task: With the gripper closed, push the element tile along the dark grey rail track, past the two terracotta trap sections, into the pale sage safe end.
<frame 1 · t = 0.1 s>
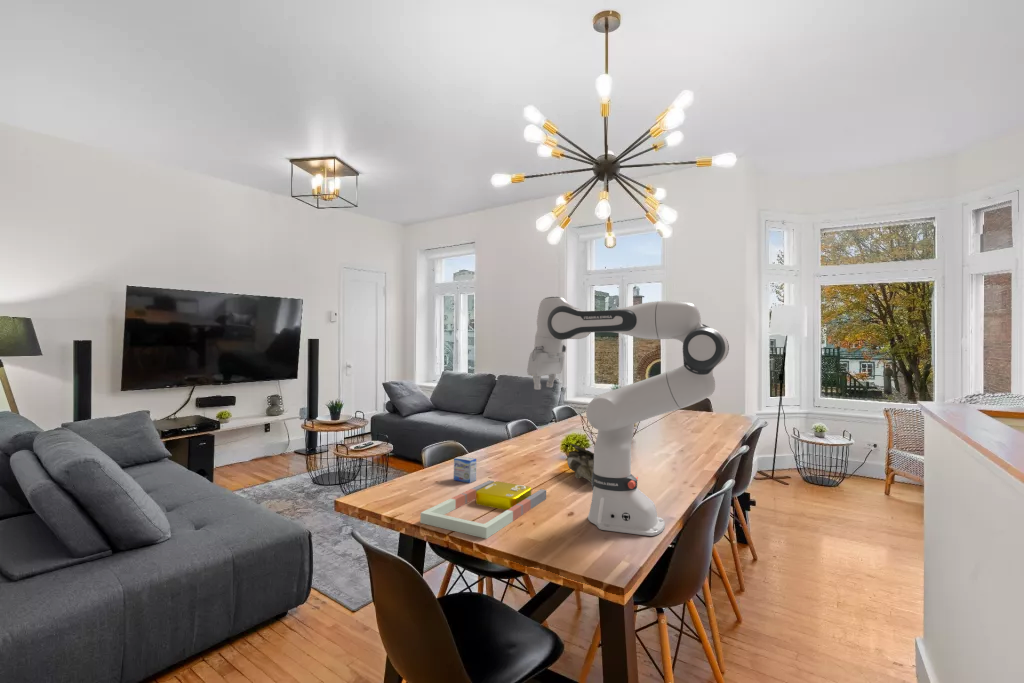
hand: (543, 388, 158), 39 cm above the table, tool pointing down, fingers open, 8 cm apart
element tile: (503, 502, 164), on the table
trap track: (488, 509, 154), on the table
medicine box: (464, 481, 187), on the table
hollow geode rock: (590, 478, 192), on the table
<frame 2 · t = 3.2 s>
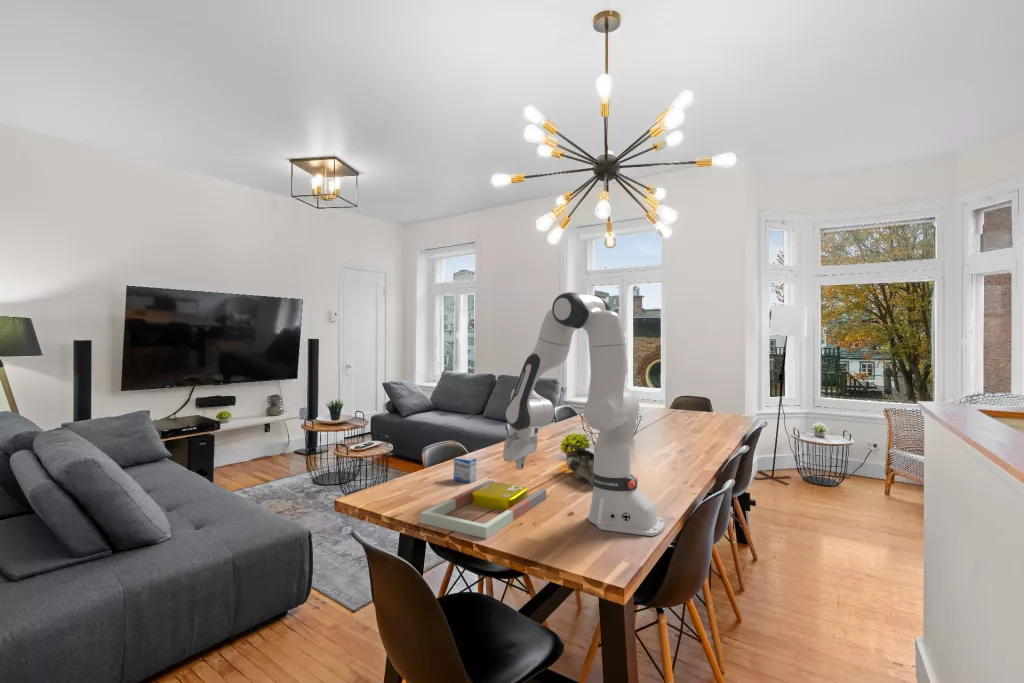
hand: (519, 468, 175), 8 cm above the table, tool pointing down, fingers closed
element tile: (500, 503, 163), on the table
everything else where it was.
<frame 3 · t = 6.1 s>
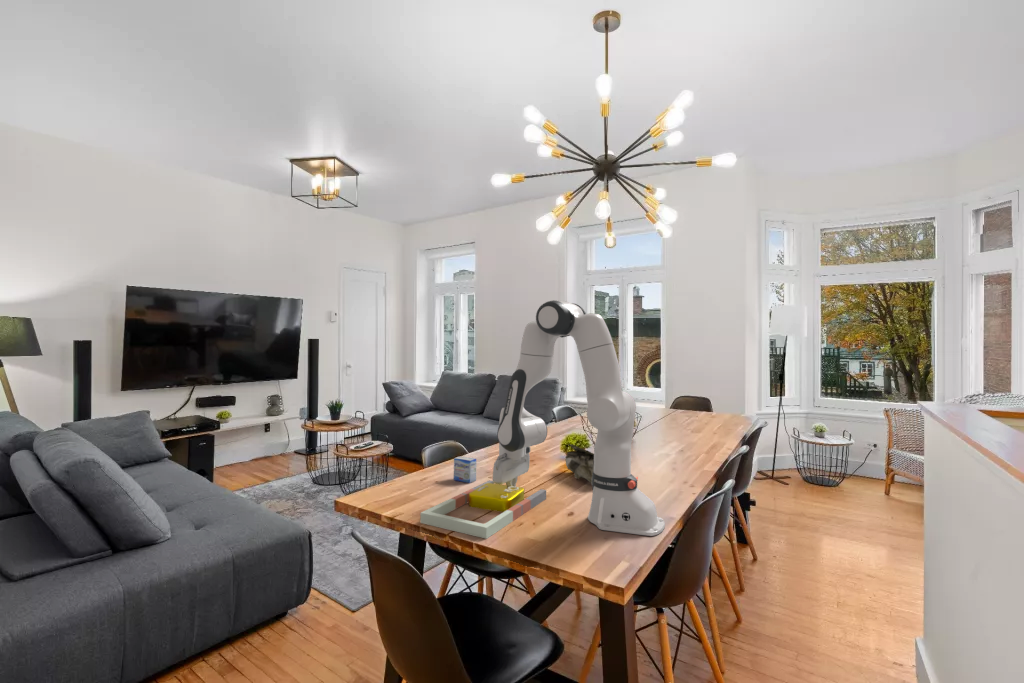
hand: (511, 490, 168), 2 cm above the table, tool pointing down, fingers closed
element tile: (496, 504, 162), on the table, touching gripper
everything else where it was.
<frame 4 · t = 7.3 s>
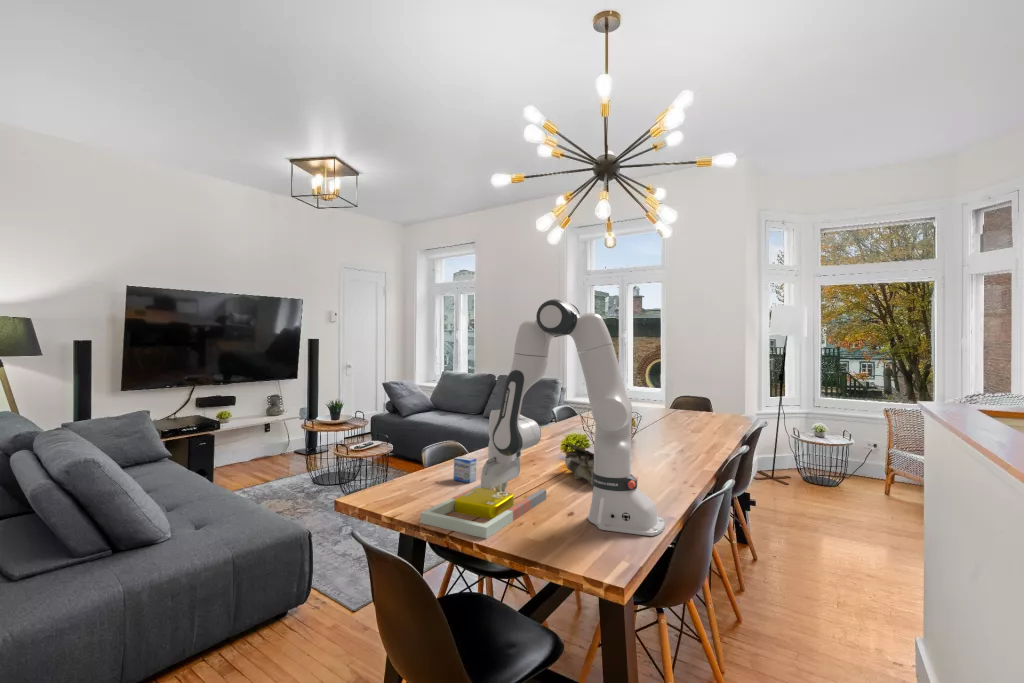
hand: (500, 495, 162), 2 cm above the table, tool pointing down, fingers closed
element tile: (484, 510, 156), on the table
everything else where it was.
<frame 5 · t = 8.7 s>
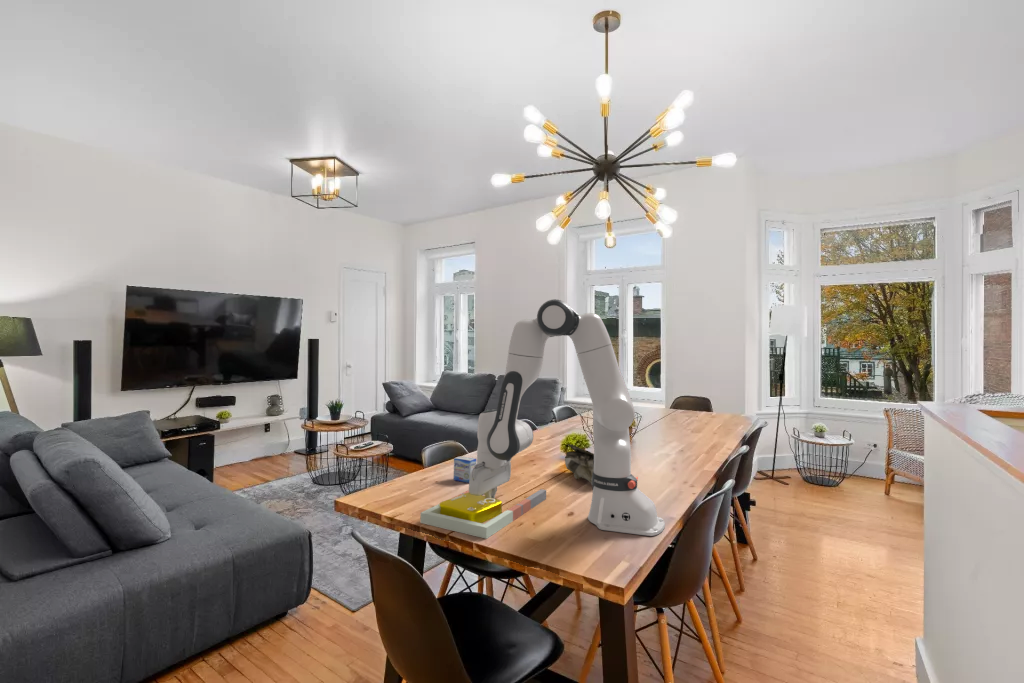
hand: (490, 501, 156), 2 cm above the table, tool pointing down, fingers closed
element tile: (470, 516, 151), on the table, touching gripper, trap track
everything else where it was.
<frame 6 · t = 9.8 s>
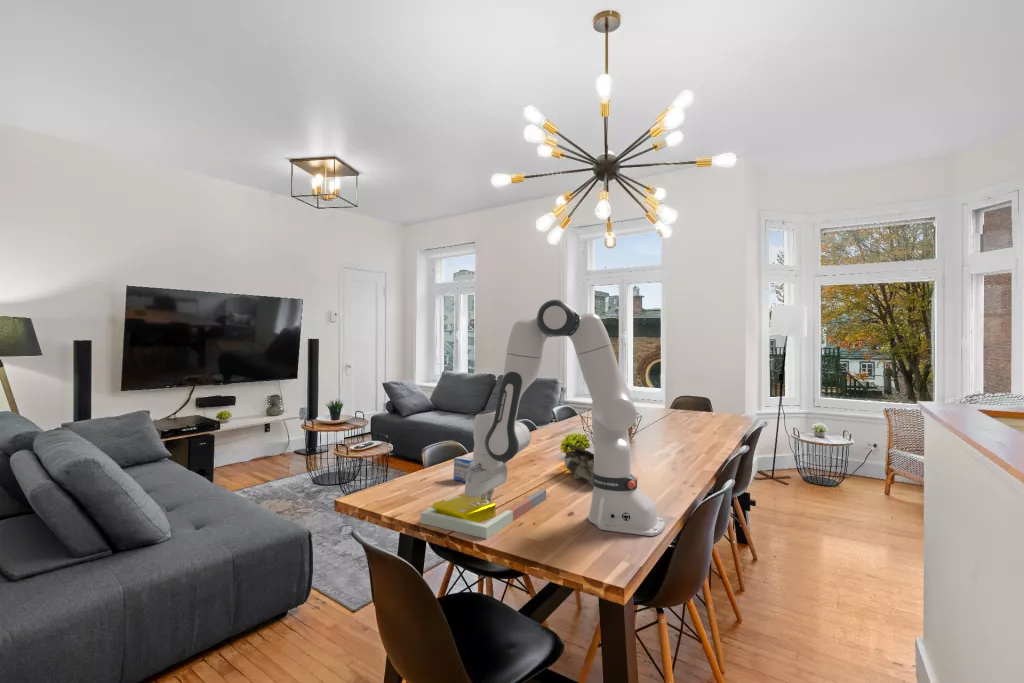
hand: (486, 504, 154), 2 cm above the table, tool pointing down, fingers closed
element tile: (464, 517, 149), on the table
everything else where it was.
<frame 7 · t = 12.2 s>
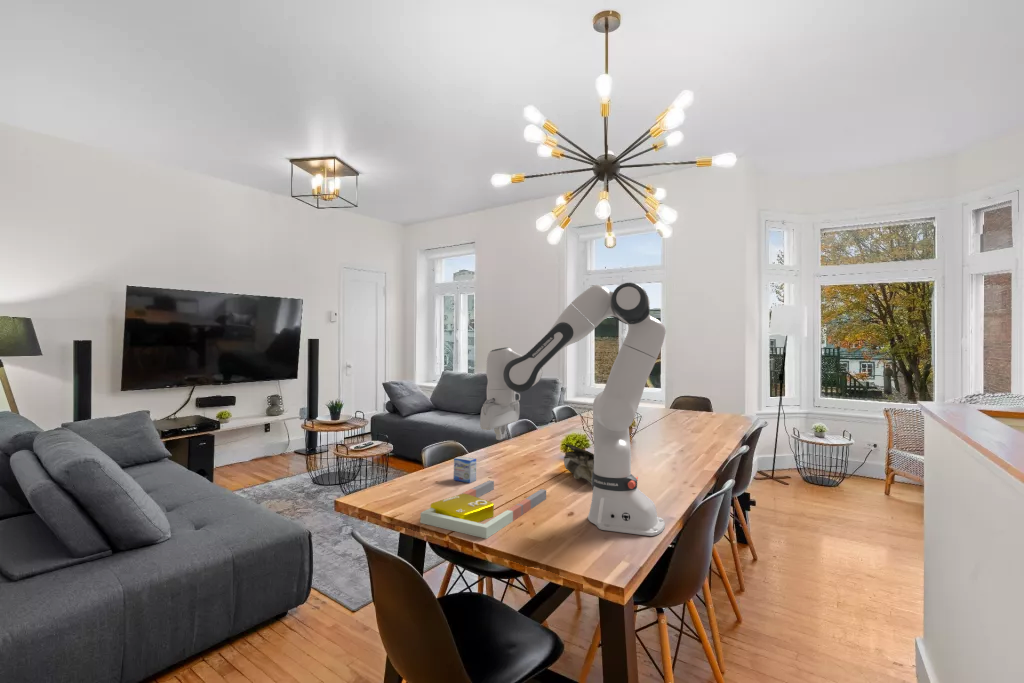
hand: (500, 439, 158), 22 cm above the table, tool pointing down, fingers closed
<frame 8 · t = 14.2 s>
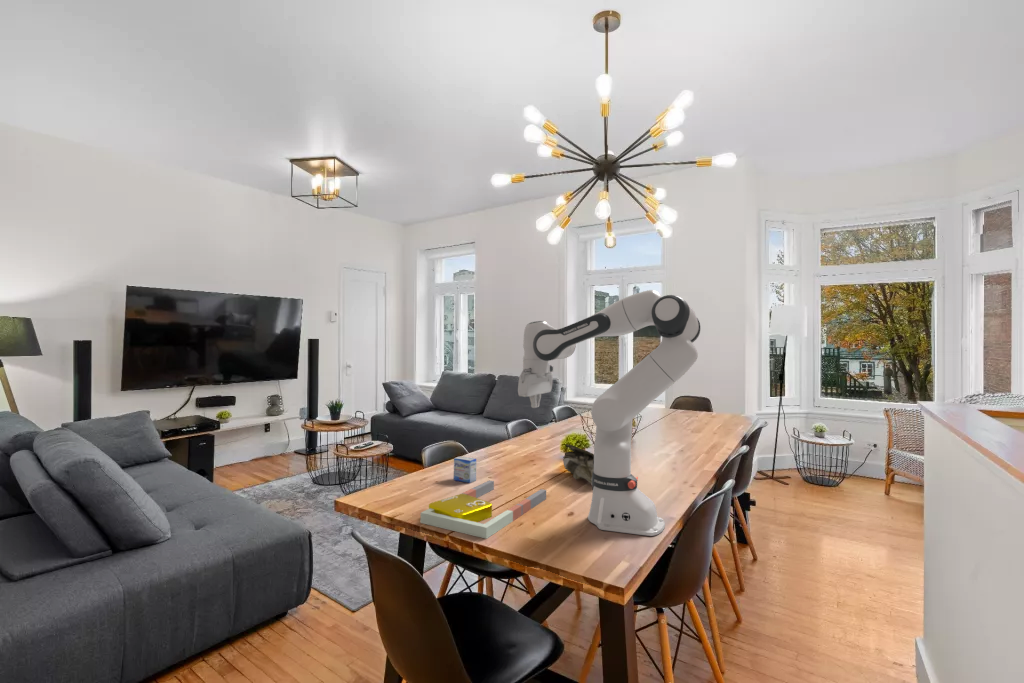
hand: (535, 407, 168), 31 cm above the table, tool pointing down, fingers closed
element tile: (460, 518, 149), on the table, touching trap track
at the end: element tile inside the target area (5.1 cm from its centre), on the table; element tile tilted 0°; the gripper is holding nothing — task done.
